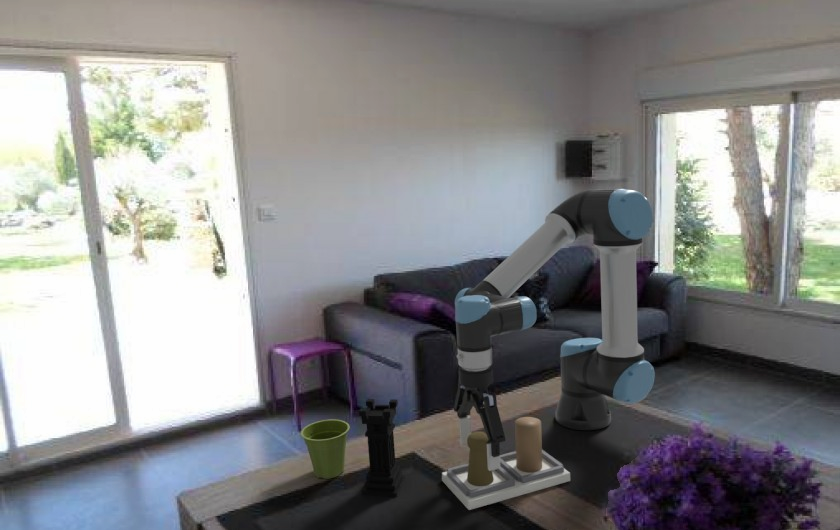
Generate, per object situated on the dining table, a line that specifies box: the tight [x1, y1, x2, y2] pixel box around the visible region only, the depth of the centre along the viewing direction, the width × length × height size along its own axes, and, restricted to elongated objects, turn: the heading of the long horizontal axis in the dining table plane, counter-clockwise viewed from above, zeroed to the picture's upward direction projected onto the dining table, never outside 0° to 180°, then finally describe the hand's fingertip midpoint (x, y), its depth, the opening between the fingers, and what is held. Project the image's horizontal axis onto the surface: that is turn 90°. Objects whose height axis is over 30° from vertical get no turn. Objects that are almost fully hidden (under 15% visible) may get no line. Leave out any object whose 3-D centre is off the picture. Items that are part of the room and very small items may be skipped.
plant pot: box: [300, 419, 351, 480], centre depth 150 cm, size 12×12×11 cm
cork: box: [466, 431, 494, 486], centre depth 139 cm, size 6×6×11 cm
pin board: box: [441, 416, 571, 511], centre depth 141 cm, size 26×14×13 cm, turn 112°
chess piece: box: [358, 398, 406, 497], centre depth 141 cm, size 8×8×20 cm
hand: (479, 455), depth 139 cm, fingers open, 13 cm apart
